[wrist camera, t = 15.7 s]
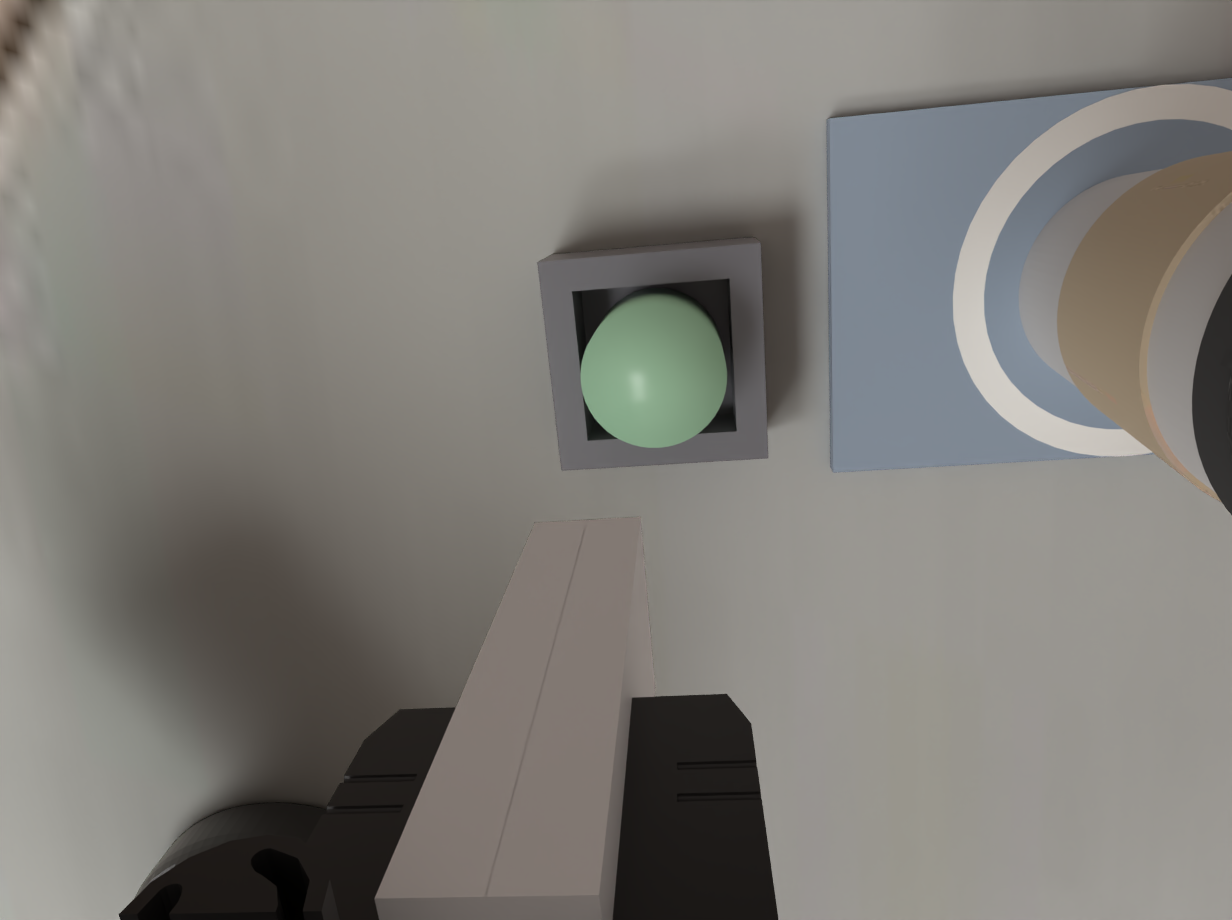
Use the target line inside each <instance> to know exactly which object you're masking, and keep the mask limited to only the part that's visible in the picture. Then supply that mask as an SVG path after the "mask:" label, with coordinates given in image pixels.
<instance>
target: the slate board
mask: <svg viewBox="0 0 1232 920" xmlns="http://www.w3.org/2000/svg"><path fill="white" fill-rule="evenodd" d="M1229 151H1232V78H1226V79H1216V80H1206V81H1196V82H1186V83H1176V84H1166V85H1156V86H1146V87H1136V88H1126V89H1116V90H1106V91H1097V92H1087V93H1077V94H1067V95H1057V96H1047V97H1037V98H1027V99H1017V100H1007V101H997V102H987V103H977V104H967V105H957V106H947V107H937V108H927V109H917V110H908V111H898V112H888V113H878V114H868V115H858V116H848V117H838V118H829V119H827V201H828V292H829V383H830V467H831V469H832V471H833V473H835V472H852V471H869V470H887V469H904V468H922V467H939V466H957V465H974V464H992V463H1009V462H1026V461H1044V460H1061V459H1079V458H1096V457H1114V456H1131V455H1149V454H1154V453H1153V452H1152V451H1150V450H1149V449H1148V448H1147V447H1145V446H1144V445H1143V444H1141V443H1140V442H1139V441H1138V440H1136V439H1135V438H1134V437H1133V436H1131V435H1130V434H1129V433H1127V432H1126V431H1125V430H1124V429H1122V428H1121V427H1120V426H1119V425H1117V424H1116V423H1115V422H1113V421H1112V420H1111V419H1110V418H1108V417H1107V416H1106V415H1105V414H1103V413H1102V412H1101V411H1099V410H1098V409H1097V408H1096V407H1095V406H1093V405H1092V404H1091V403H1090V402H1089V401H1088V400H1087V399H1086V398H1085V397H1084V396H1083V394H1082V393H1081V392H1080V391H1079V389H1078V388H1077V387H1076V386H1074V385H1073V384H1072V383H1070V382H1069V381H1068V380H1067V379H1065V378H1064V377H1063V376H1061V375H1060V374H1059V373H1057V372H1056V371H1055V370H1053V369H1052V368H1051V367H1049V366H1048V365H1047V364H1046V363H1045V362H1044V361H1043V360H1042V359H1041V358H1040V357H1039V356H1038V354H1037V353H1036V352H1035V351H1034V349H1033V348H1032V346H1031V344H1030V343H1029V341H1028V339H1027V337H1026V334H1025V332H1024V329H1023V326H1022V322H1021V318H1020V312H1019V286H1020V279H1021V274H1022V271H1023V267H1024V264H1025V261H1026V258H1027V256H1028V254H1029V251H1030V249H1031V247H1032V245H1033V243H1034V242H1035V240H1036V238H1037V237H1038V235H1039V233H1040V232H1041V231H1042V229H1043V228H1044V226H1045V225H1046V224H1047V223H1048V221H1049V220H1050V219H1051V218H1052V217H1053V216H1054V215H1055V214H1056V213H1057V212H1058V211H1059V210H1060V209H1061V208H1062V207H1063V206H1064V205H1065V204H1067V203H1068V202H1069V201H1070V200H1072V199H1073V198H1074V197H1076V196H1077V195H1079V194H1080V193H1082V192H1083V191H1085V190H1087V189H1089V188H1091V187H1092V186H1094V185H1097V184H1099V183H1101V182H1104V181H1106V180H1109V179H1112V178H1115V177H1119V176H1123V175H1129V174H1135V173H1141V172H1147V171H1153V170H1159V169H1165V168H1167V167H1169V166H1172V165H1174V164H1177V163H1179V162H1182V161H1185V160H1189V159H1193V158H1196V157H1201V156H1206V155H1212V154H1217V153H1223V152H1229Z"/></svg>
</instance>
